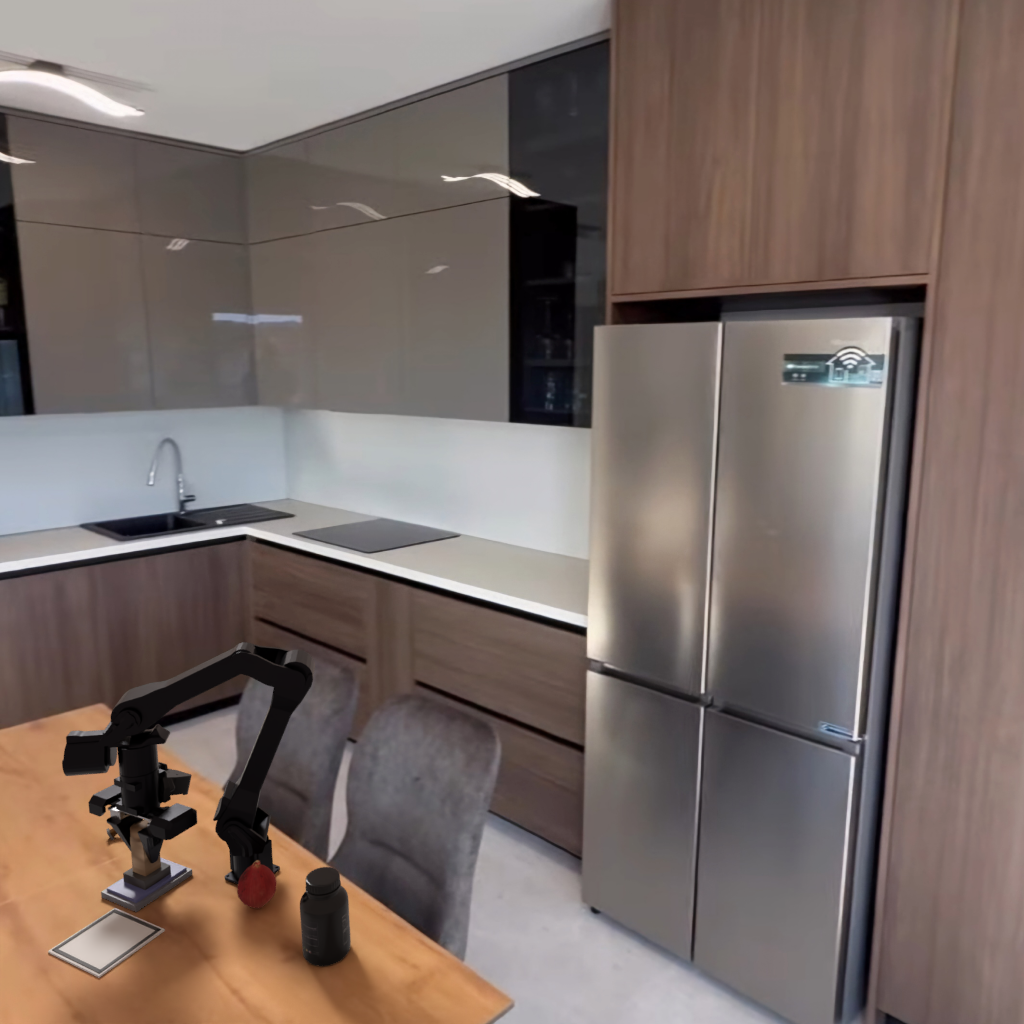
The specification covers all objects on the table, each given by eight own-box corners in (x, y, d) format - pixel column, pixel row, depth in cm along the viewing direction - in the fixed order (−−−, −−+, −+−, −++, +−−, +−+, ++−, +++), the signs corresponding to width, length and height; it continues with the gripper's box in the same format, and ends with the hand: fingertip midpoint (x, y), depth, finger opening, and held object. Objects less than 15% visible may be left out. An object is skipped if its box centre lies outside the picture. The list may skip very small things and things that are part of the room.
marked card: (164, 930, 124) (164, 928, 124) (99, 977, 114) (98, 975, 114) (115, 909, 129) (114, 907, 129) (48, 952, 119) (47, 950, 119)
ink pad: (192, 874, 138) (191, 866, 137) (136, 912, 128) (135, 903, 128) (158, 861, 141) (158, 853, 141) (101, 897, 132) (100, 889, 131)
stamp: (171, 873, 135) (167, 822, 134) (145, 890, 131) (141, 837, 130) (149, 865, 138) (145, 814, 136) (123, 881, 133) (119, 829, 132)
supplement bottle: (330, 929, 124) (327, 856, 122) (360, 949, 120) (358, 873, 118) (292, 954, 119) (288, 877, 117) (322, 975, 115) (318, 897, 113)
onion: (237, 922, 126) (234, 874, 124) (239, 899, 131) (236, 853, 130) (277, 916, 127) (275, 868, 126) (277, 893, 133) (275, 847, 131)
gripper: (220, 760, 134) (226, 848, 137) (141, 737, 143) (148, 821, 145) (164, 790, 124) (171, 885, 127) (82, 764, 133) (90, 853, 135)
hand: (146, 858), depth 134 cm, fingers closed on stamp, 3 cm apart
